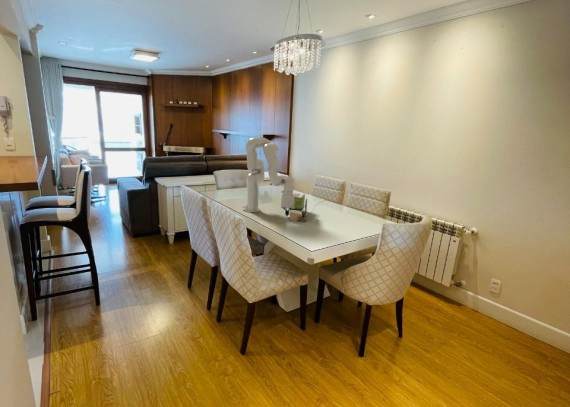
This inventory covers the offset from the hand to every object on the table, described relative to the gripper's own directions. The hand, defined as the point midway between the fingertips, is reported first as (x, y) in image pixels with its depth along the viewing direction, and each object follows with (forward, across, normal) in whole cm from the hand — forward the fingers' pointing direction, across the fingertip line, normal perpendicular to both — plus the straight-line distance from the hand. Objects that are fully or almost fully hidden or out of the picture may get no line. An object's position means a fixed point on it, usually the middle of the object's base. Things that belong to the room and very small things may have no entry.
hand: (287, 215), depth 242 cm
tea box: (+2, +7, +18) cm, 19 cm away
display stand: (+2, +11, 0) cm, 11 cm away
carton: (+2, +7, 0) cm, 7 cm away
